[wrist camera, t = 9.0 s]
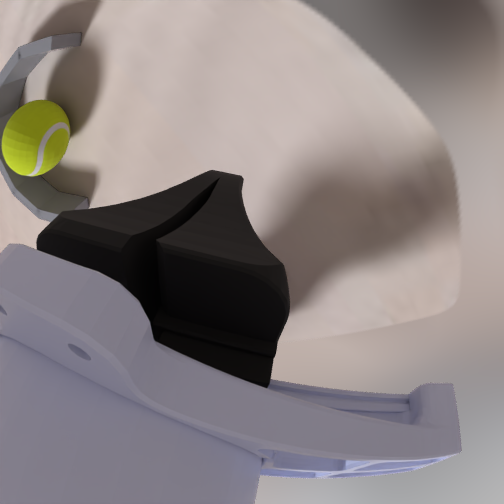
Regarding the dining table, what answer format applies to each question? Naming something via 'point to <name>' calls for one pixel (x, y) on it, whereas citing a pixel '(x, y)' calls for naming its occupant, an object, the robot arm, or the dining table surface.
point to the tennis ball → (35, 138)
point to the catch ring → (5, 105)
